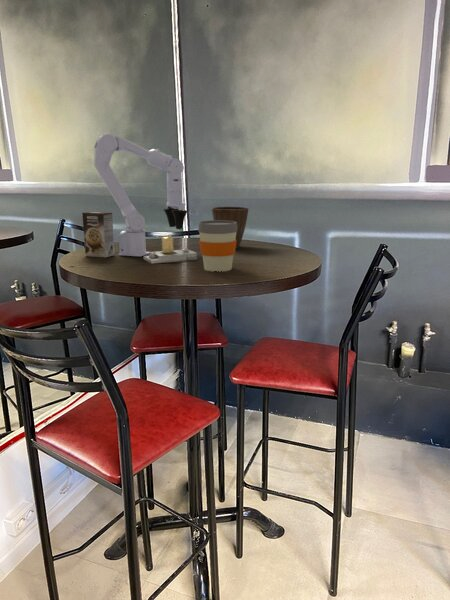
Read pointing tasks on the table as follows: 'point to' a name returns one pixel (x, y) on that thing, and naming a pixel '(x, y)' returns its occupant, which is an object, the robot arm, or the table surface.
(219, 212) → the plant pot
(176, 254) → the square-hole plate
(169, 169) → the robot arm
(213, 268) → the reusable coffee cup
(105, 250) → the coffee box
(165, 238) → the brass pin
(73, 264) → the table surface
